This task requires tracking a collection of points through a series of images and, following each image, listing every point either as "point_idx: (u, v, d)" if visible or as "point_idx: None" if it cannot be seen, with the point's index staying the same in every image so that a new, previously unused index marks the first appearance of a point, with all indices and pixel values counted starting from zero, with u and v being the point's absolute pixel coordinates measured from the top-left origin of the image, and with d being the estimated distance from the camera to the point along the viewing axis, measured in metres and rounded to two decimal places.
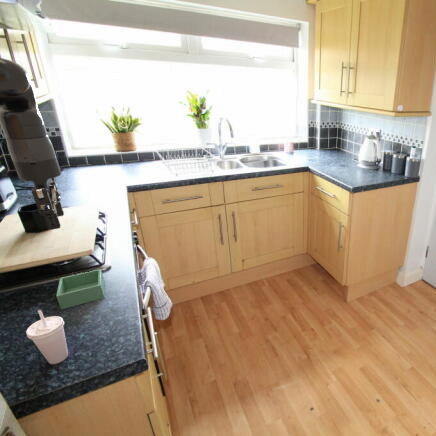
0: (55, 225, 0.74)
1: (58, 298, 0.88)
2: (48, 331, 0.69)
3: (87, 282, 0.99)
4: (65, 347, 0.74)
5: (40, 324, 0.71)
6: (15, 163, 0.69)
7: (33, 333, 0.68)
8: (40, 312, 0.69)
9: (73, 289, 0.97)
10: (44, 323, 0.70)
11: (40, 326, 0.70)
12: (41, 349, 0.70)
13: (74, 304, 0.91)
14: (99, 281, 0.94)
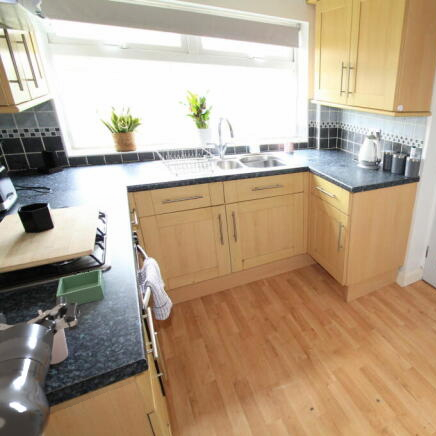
0: None
1: None
2: None
3: (87, 282, 0.99)
4: (65, 347, 0.74)
5: None
6: None
7: None
8: (40, 312, 0.69)
9: (73, 289, 0.97)
10: None
11: None
12: None
13: None
14: (99, 281, 0.94)
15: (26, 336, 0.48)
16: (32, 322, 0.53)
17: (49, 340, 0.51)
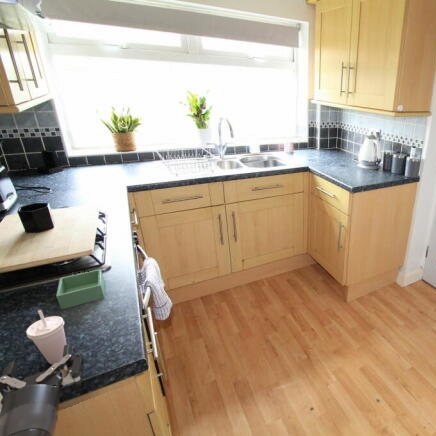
0: None
1: (58, 298, 0.88)
2: (48, 331, 0.69)
3: (87, 282, 0.99)
4: None
5: (40, 324, 0.71)
6: (4, 413, 0.51)
7: (33, 333, 0.68)
8: (40, 312, 0.69)
9: (73, 289, 0.97)
10: (44, 323, 0.70)
11: (40, 326, 0.70)
12: (41, 349, 0.70)
13: (74, 304, 0.91)
14: (99, 281, 0.94)
15: (34, 401, 0.52)
16: (40, 379, 0.58)
17: (55, 400, 0.55)
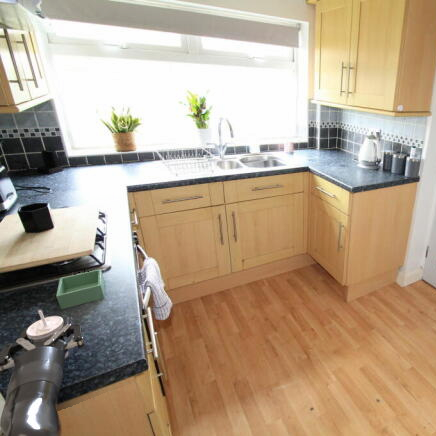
0: None
1: (58, 298, 0.88)
2: (48, 331, 0.69)
3: (87, 282, 0.99)
4: None
5: (40, 324, 0.71)
6: (17, 368, 0.58)
7: (33, 333, 0.68)
8: (40, 312, 0.69)
9: (73, 289, 0.97)
10: (44, 323, 0.70)
11: (40, 326, 0.70)
12: None
13: (74, 304, 0.91)
14: (99, 281, 0.94)
15: (43, 359, 0.60)
16: (48, 343, 0.66)
17: (61, 361, 0.63)
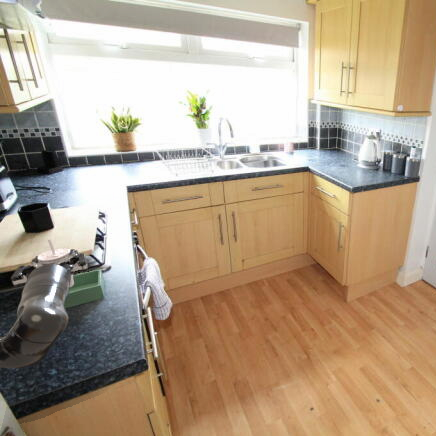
0: None
1: None
2: (56, 257, 0.78)
3: (87, 282, 0.99)
4: (71, 275, 0.83)
5: (49, 253, 0.80)
6: (30, 278, 0.68)
7: (43, 259, 0.78)
8: (49, 240, 0.78)
9: (73, 289, 0.97)
10: (53, 251, 0.79)
11: (49, 254, 0.79)
12: None
13: (74, 304, 0.91)
14: (99, 281, 0.94)
15: (52, 272, 0.69)
16: (56, 264, 0.75)
17: (68, 277, 0.72)
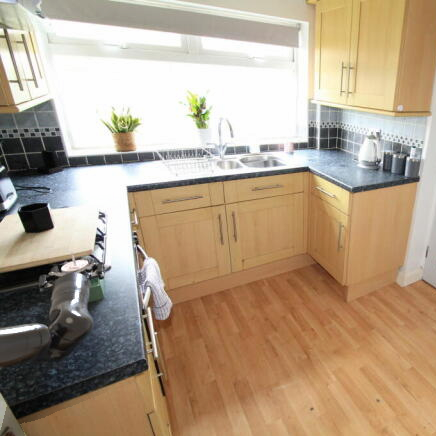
0: None
1: None
2: (77, 268, 0.90)
3: None
4: None
5: (71, 264, 0.92)
6: (57, 285, 0.79)
7: (66, 269, 0.90)
8: (72, 254, 0.90)
9: None
10: (74, 263, 0.91)
11: (71, 265, 0.91)
12: None
13: None
14: (99, 281, 0.94)
15: (75, 280, 0.81)
16: (77, 272, 0.86)
17: (88, 284, 0.84)
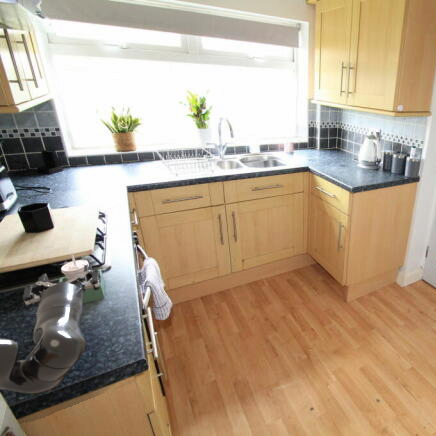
0: None
1: None
2: (77, 268, 0.90)
3: None
4: None
5: (71, 264, 0.92)
6: (44, 298, 0.68)
7: (66, 270, 0.90)
8: (71, 254, 0.90)
9: None
10: (74, 263, 0.91)
11: (71, 265, 0.91)
12: None
13: None
14: None
15: (66, 292, 0.69)
16: (68, 282, 0.75)
17: (81, 296, 0.72)
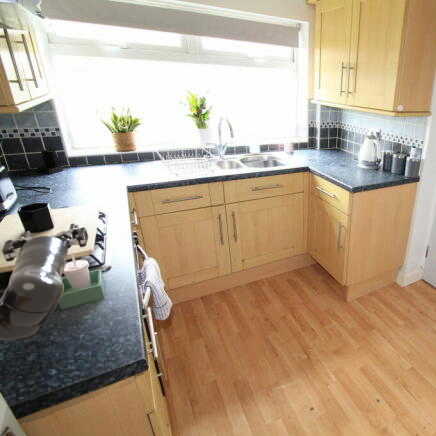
0: None
1: None
2: (77, 268, 0.90)
3: None
4: (89, 284, 0.95)
5: (71, 264, 0.92)
6: (23, 249, 0.63)
7: (66, 270, 0.90)
8: (71, 254, 0.90)
9: None
10: (74, 263, 0.91)
11: (71, 265, 0.91)
12: (72, 283, 0.91)
13: (74, 304, 0.91)
14: (99, 281, 0.94)
15: (48, 243, 0.64)
16: None
17: (64, 250, 0.68)
